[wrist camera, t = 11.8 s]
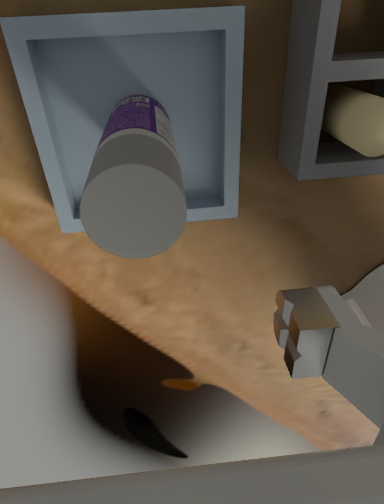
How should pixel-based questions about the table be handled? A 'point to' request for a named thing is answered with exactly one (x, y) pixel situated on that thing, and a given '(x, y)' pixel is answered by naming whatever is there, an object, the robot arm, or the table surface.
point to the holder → (329, 100)
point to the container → (135, 183)
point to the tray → (129, 83)
